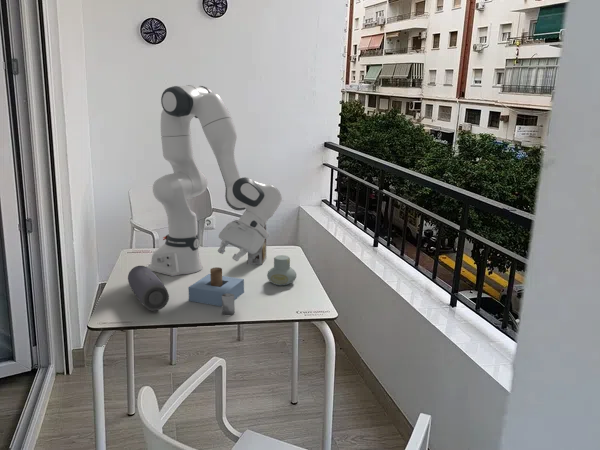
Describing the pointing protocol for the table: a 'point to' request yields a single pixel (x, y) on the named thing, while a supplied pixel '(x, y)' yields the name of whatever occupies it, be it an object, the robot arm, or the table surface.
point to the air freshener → (281, 271)
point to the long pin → (216, 276)
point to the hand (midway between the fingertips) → (227, 256)
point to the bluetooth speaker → (148, 288)
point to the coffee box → (258, 255)
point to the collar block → (215, 290)
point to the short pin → (228, 304)
